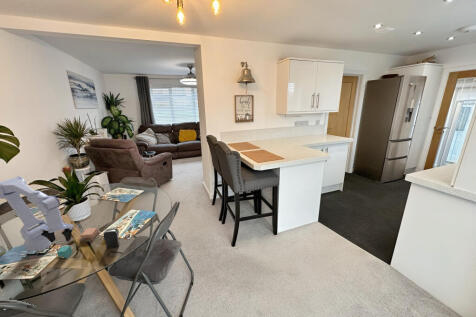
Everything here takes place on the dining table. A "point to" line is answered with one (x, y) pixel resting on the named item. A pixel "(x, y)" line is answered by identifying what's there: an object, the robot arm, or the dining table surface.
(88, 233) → the tower top
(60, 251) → the teal block
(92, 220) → the dining table surface
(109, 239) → the battery
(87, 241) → the tower base
